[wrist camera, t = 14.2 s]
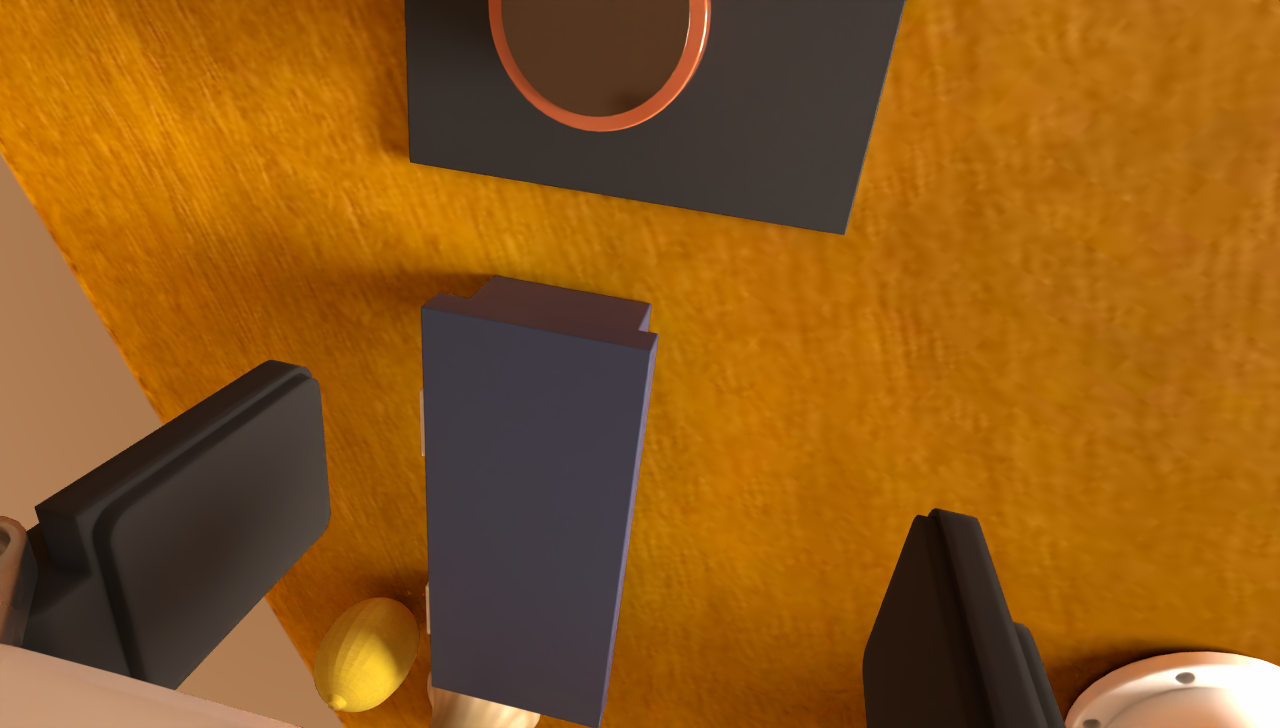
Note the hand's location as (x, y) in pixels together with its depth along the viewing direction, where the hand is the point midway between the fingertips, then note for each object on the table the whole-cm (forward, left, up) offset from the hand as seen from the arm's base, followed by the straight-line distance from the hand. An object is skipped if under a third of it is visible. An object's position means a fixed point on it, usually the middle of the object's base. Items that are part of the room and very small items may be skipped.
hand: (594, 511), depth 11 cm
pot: (+4, -6, -23) cm, 24 cm away
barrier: (+6, +18, -23) cm, 30 cm away
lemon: (+16, +31, -24) cm, 42 cm away
